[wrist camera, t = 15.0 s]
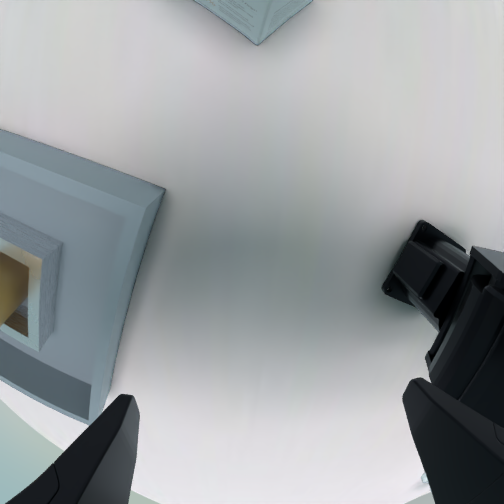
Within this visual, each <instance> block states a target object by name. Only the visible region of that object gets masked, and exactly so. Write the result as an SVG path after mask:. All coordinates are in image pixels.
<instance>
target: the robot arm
mask: <svg viewBox="0 0 504 504" xmlns="http://www.w3.org/2000/svg"><path fill="white" fill-rule="evenodd" d="M423 226H424V228H423V229H422V227H423ZM388 287H390V288H389V289H388ZM387 289H388V290H387ZM382 291H383V292H384V293H385V294H386V295H388V296H390V297H393V298H395V299H397V300H400V301H402V302H405V303H407V304H409V305H412V306H414V307H416V308H417V309H418V310H419V311H420V312H421V313H422V314H423V315H424V316H425V317H426V319H427V320H428V321H429V322H430V323H431V324H432V325H433V326H434V327H435V329H436V330H437V331H438V332H439V333H438V335H437V337H436V339H435V341H434V343H433V345H432V347H431V349H430V351H428V352H427V354H426V356H425V360H426V363H427V367H428V370H429V377H430V380H431V383H432V384H431V383H430V382H428V381H426V380H425V379H423V378H415V379H412V380H411V381H410V382H409V384H408V386H407V388H406V390H405V392H404V394H403V398H402V399H403V404H404V408H405V411H406V415H407V419H408V423H409V427H410V430H411V434H412V437H413V440H414V443H415V445H416V448H417V451H418V454H419V456H420V459H421V462H422V465H423V468H424V470H425V473H426V476H427V479H428V482H429V485H430V488H431V491H432V494H433V498H434V501H435V504H504V252H499V251H495V250H490V249H486V248H481V247H477V246H472V248H471V251H470V256H469V255H467V254H466V250H465V249H464V248H463V247H462V246H460V245H459V244H457V243H456V242H455V241H453V240H452V239H451V238H449V237H448V236H446V235H445V234H444V233H442V232H441V231H439V230H438V229H436V228H435V227H434V226H432V225H431V224H429V223H428V222H426V221H424V220H422V221H420V222H419V223H418V224H417V226H416V228H415V230H414V232H413V234H412V236H411V238H410V240H409V241H408V243H407V245H406V247H405V249H404V251H403V252H402V254H401V256H400V258H399V259H398V261H397V263H396V265H395V266H394V268H393V270H392V271H391V273H390V275H389V276H388V278H387V280H386V281H385V283H384V285H383V287H382ZM139 420H140V413H139V409H138V406H137V403H136V401H135V398H134V396H133V395H128V394H120V395H119V396H118V397H117V398H116V399H115V400H114V401H113V402H112V403H111V404H110V405H109V406H108V407H107V408H106V409H105V410H104V411H103V412H102V413H101V414H100V415H99V416H98V418H97V419H96V420H95V421H94V422H93V423H92V424H91V425H90V426H89V427H88V428H87V429H86V430H85V431H84V432H83V433H82V434H81V435H80V436H79V437H78V438H77V439H76V440H75V441H74V442H73V443H72V444H71V445H70V446H69V447H68V448H67V449H66V450H65V451H64V452H63V453H62V454H61V456H59V457H58V458H57V460H56V461H55V462H54V463H53V464H51V466H50V467H49V468H48V469H47V470H46V471H45V472H43V474H41V475H40V476H39V477H38V478H37V479H36V480H35V481H34V482H32V483H31V484H30V485H29V486H28V487H26V488H25V489H24V490H23V491H21V492H20V493H19V494H17V495H16V496H15V497H13V498H12V499H11V500H10V501H8V502H7V503H5V504H128V502H129V496H130V490H131V484H132V479H133V474H134V468H135V463H136V456H137V443H138V431H139Z"/></svg>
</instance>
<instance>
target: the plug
mask: <svg viewBox="0 0 504 504" xmlns="http://www.w3.org/2000/svg"><path fill="white" fill-rule="evenodd" d="M28 282H29V267H28V266H26V265H25V264H23V263H21V262H19V261H17V260H15V259H13V258H11V257H9V256H8V255H6V254H4V253H2V252H0V327H1V326H2V324H3V323H4V322H5V321H6V320H7V319H8V318H9V317H10V315H11V314H12V313H13V312H14V311H15V310H16V309H17V308H18V307H19V306H20V305H21V304H22V303H23V301H24V300H25V299H26V298H27V297H28Z"/></svg>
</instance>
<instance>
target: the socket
mask: <svg viewBox="0 0 504 504" xmlns="http://www.w3.org/2000/svg"><path fill="white" fill-rule="evenodd" d="M62 247H63V242H62V241H60V240H57V239H55V238H53V237H51V236H49V235H46V234H44V233H42V232H40V231H38V230H36V229H34V228H32V227H29V226H27V225H25V224H23V223H21V222H19V221H17V220H15V219H13V218H11V217H9V216H7V215H5V214H3V213H1V212H0V252H2V253H4V254H6V255H8V256H9V257H11V258H13V259H15V260H17V261H19V262H21V263H23V264H25V265H26V266H28V267H29V282H28V308H27V307H25V306H23V305H20V306H19V307H18V308H17V309H16V310H15V311H14V312H13V313H12V314H11V315H10V317H9V318H8V319H7V320H6V321H5V322H4V323H3V324H2V326H1V327H0V330H1V331H3V332H4V333H6V334H7V335H9V336H11V337H13V338H14V339H16V340H18V341H19V342H21V343H23V344H25V345H27V346H28V347H30V348H32V349H34V350H36V351H38V352H40V350H41V349H42V347H43V346H44V344H45V343H46V341H47V340H48V338H49V337H50V336H51V334H52V333H53V331H54V322H55V306H56V295H57V285H58V276H59V268H60V261H61V254H62Z"/></svg>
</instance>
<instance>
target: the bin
mask: <svg viewBox="0 0 504 504" xmlns="http://www.w3.org/2000/svg"><path fill="white" fill-rule="evenodd" d="M165 190H166V189H164V188H162V187H159V186H157V185H154V184H151V183H149V182H146V181H144V180H141V179H138V178H136V177H133V176H130V175H128V174H125V173H122V172H120V171H117V170H114V169H112V168H109V167H106V166H104V165H101V164H98V163H96V162H93V161H90V160H87V159H85V158H82V157H79V156H76V155H74V154H71V153H68V152H65V151H62V150H60V149H57V148H54V147H51V146H48V145H45V144H43V143H40V142H37V141H34V140H31V139H28V138H25V137H22V136H19V135H16V134H13V133H11V132H8V131H5V130H2V129H0V212H1V213H3V214H5V215H7V216H9V217H11V218H13V219H15V220H17V221H19V222H21V223H23V224H25V225H27V226H29V227H32V228H34V229H36V230H38V231H40V232H42V233H44V234H46V235H49V236H51V237H53V238H55V239H57V240H60V241H62V242H63V247H62V254H61V261H60V268H59V276H58V285H57V295H56V306H55V322H54V331H53V333H52V334H51V336H50V337H49V338H48V340H47V341H46V343H45V344H44V346H43V347H42V349H41V350H40V352H38V351H36V350H34V349H32V348H30V347H28V346H27V345H25V344H23V343H21V342H19V341H18V340H16V339H14V338H13V337H11V336H9V335H7V334H6V333H4V332H3V331H1V330H0V380H1V381H3V382H5V383H6V384H8V385H10V386H11V387H13V388H15V389H16V390H18V391H20V392H22V393H23V394H25V395H27V396H29V397H31V398H32V399H34V400H36V401H38V402H40V403H42V404H44V405H46V406H48V407H50V408H52V409H54V410H56V411H58V412H60V413H62V414H64V415H67V416H69V417H71V418H73V419H76V420H78V421H80V422H83V423H85V424H87V425H91V424H92V423H93V422H94V421H95V420H96V419H97V418H98V416H99V415H100V414H101V413H102V411H103V408H104V405H105V402H106V399H107V396H108V393H109V390H110V386H111V381H112V376H113V371H114V366H115V361H116V356H117V352H118V347H119V343H120V338H121V334H122V330H123V326H124V322H125V318H126V314H127V310H128V306H129V302H130V299H131V295H132V291H133V288H134V284H135V281H136V277H137V274H138V270H139V267H140V264H141V260H142V257H143V254H144V251H145V248H146V244H147V241H148V238H149V235H150V232H151V229H152V226H153V223H154V220H155V217H156V215H157V212H158V209H159V206H160V203H161V201H162V198H163V195H164V192H165ZM21 305H23V306H25V307H27V308H28V297H27V298H26V299H25V300H24V301H23V303H22V304H21Z"/></svg>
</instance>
